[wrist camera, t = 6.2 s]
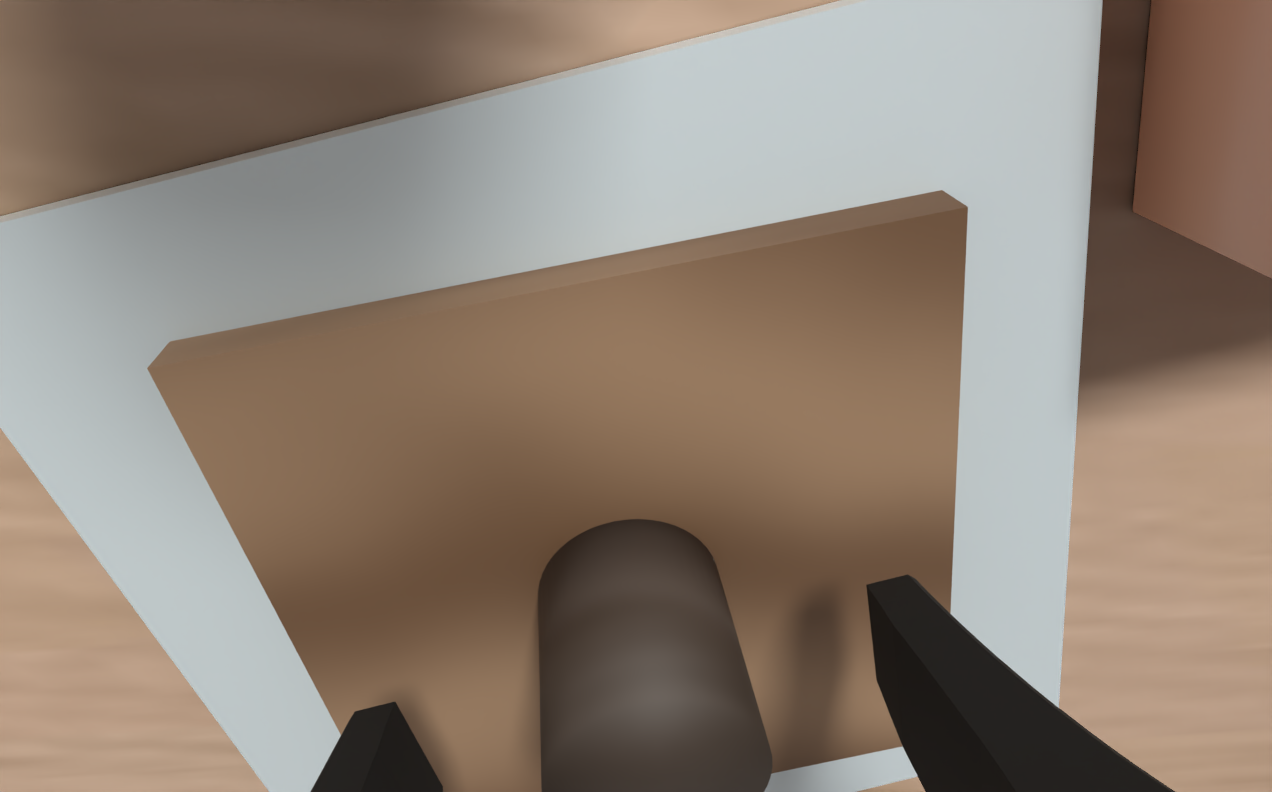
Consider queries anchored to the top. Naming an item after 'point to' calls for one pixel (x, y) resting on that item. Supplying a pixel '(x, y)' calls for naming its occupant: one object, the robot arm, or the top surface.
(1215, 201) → the shallow cardboard tray
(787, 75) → the mat
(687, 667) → the lid
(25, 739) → the top surface
